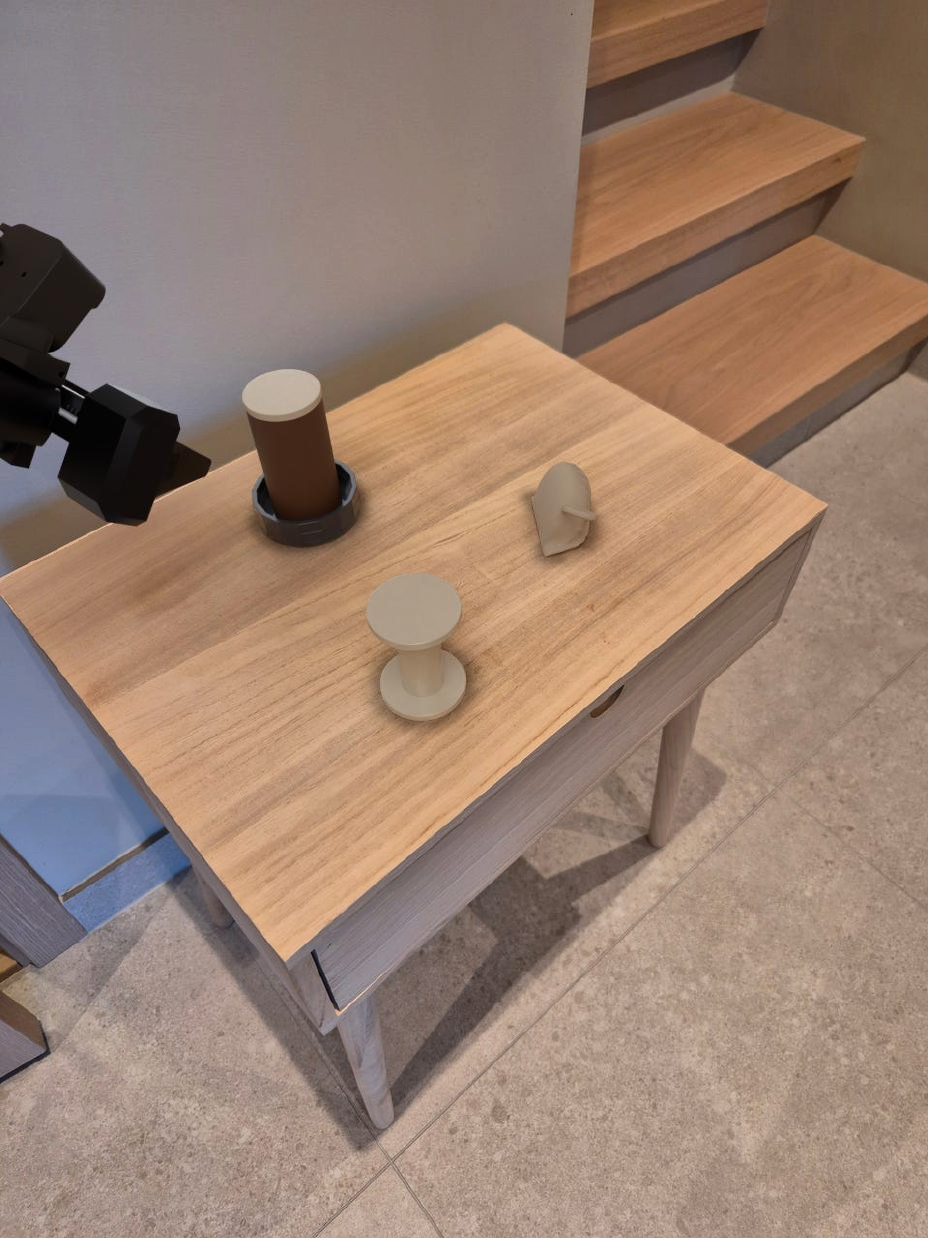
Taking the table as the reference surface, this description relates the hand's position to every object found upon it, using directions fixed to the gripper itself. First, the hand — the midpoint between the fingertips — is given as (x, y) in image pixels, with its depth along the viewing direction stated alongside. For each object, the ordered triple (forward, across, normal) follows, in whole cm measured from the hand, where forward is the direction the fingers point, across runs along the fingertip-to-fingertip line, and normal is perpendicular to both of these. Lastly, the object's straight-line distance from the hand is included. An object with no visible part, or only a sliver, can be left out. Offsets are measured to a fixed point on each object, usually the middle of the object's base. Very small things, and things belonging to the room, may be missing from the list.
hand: (159, 440), depth 53 cm
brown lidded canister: (+16, 0, +2) cm, 17 cm away
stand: (+11, -18, +8) cm, 23 cm away
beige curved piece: (+24, -18, -5) cm, 30 cm away
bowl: (+17, 0, +2) cm, 17 cm away
